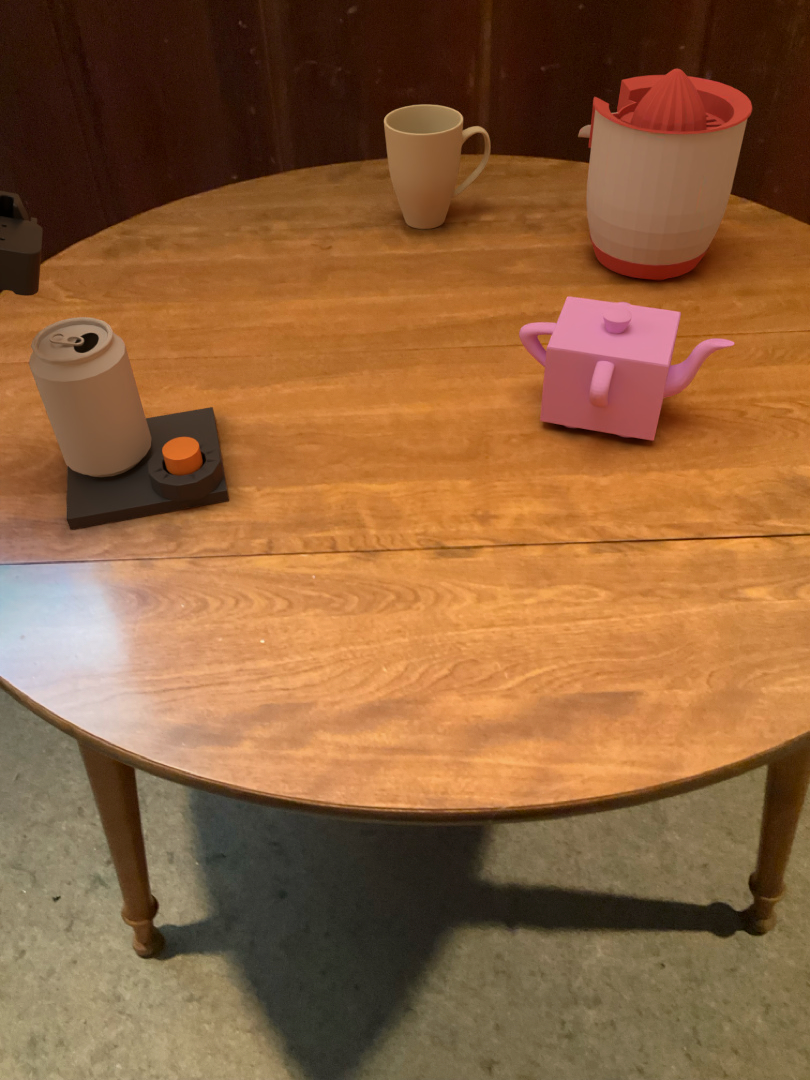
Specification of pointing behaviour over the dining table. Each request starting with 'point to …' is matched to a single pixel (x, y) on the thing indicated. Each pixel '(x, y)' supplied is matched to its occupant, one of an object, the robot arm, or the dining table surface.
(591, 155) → the citrus juicer
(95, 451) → the can
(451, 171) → the mug
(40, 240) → the robot arm
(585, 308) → the teapot
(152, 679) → the dining table surface
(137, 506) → the dark grey flat block
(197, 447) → the button
